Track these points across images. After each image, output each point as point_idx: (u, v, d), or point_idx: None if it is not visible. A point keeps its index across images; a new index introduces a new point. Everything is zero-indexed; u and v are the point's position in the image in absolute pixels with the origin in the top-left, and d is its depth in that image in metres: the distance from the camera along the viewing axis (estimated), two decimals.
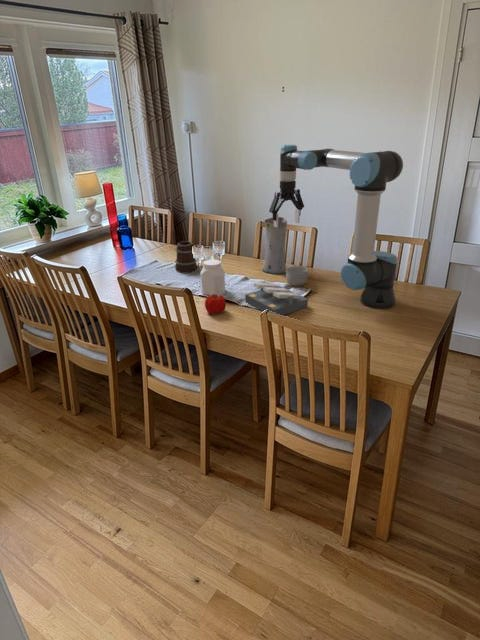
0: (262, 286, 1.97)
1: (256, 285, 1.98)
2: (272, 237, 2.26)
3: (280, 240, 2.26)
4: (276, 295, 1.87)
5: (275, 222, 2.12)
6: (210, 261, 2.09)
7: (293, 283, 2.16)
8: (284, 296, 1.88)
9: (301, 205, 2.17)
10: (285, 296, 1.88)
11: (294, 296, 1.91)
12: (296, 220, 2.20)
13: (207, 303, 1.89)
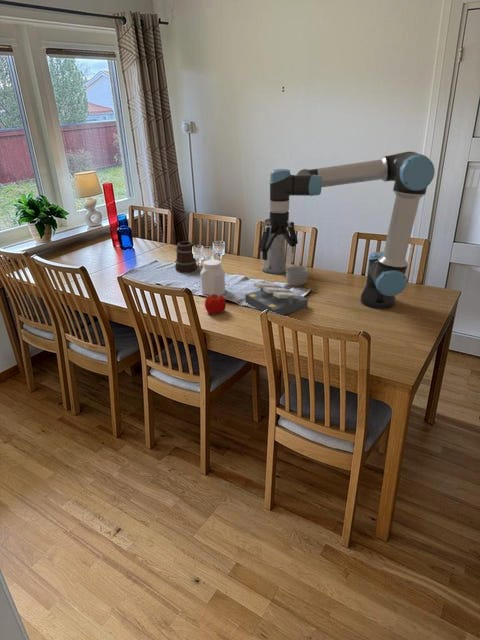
0: (262, 286, 1.97)
1: (256, 285, 1.98)
2: None
3: (280, 240, 2.26)
4: (276, 295, 1.87)
5: (266, 262, 1.77)
6: (210, 261, 2.09)
7: (293, 283, 2.16)
8: (284, 296, 1.88)
9: (294, 241, 1.81)
10: (285, 296, 1.88)
11: (294, 296, 1.91)
12: (288, 258, 1.84)
13: (207, 303, 1.89)
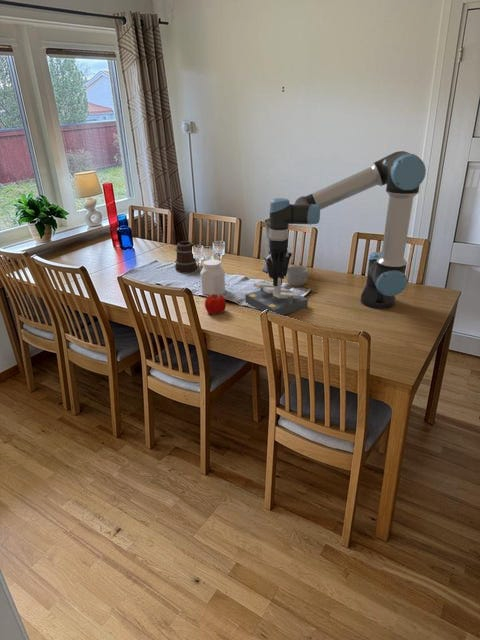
0: (262, 286, 1.97)
1: (256, 285, 1.98)
2: None
3: None
4: (276, 295, 1.87)
5: (276, 288, 1.86)
6: (210, 261, 2.09)
7: (293, 283, 2.16)
8: (284, 296, 1.88)
9: (283, 273, 1.84)
10: (285, 296, 1.88)
11: (294, 296, 1.91)
12: None
13: (207, 303, 1.89)
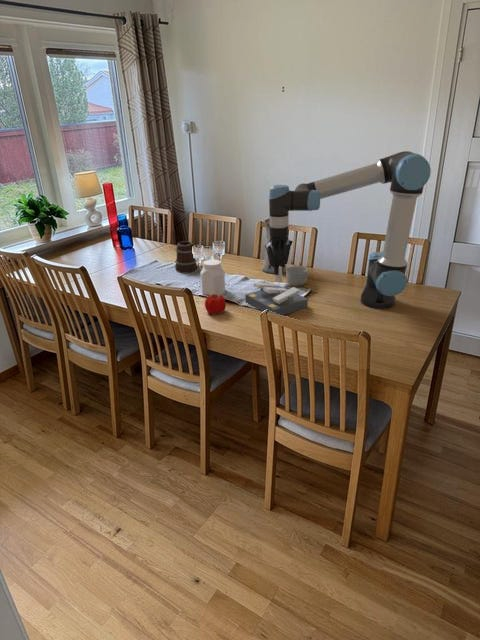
0: (262, 286, 1.97)
1: (256, 285, 1.98)
2: None
3: None
4: (276, 301, 1.88)
5: (277, 277, 1.83)
6: (210, 261, 2.09)
7: (293, 283, 2.16)
8: (284, 299, 1.88)
9: (284, 261, 1.82)
10: (285, 298, 1.88)
11: (294, 293, 1.91)
12: None
13: (207, 303, 1.89)
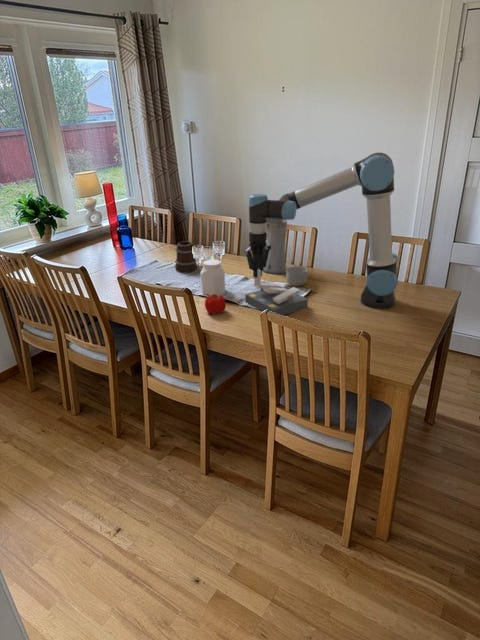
0: (262, 286, 1.97)
1: (256, 285, 1.98)
2: (272, 237, 2.26)
3: (280, 240, 2.26)
4: (276, 301, 1.88)
5: (256, 279, 1.96)
6: (210, 261, 2.09)
7: (293, 283, 2.16)
8: (284, 299, 1.88)
9: (262, 265, 1.94)
10: (285, 298, 1.88)
11: (294, 293, 1.91)
12: None
13: (207, 303, 1.89)
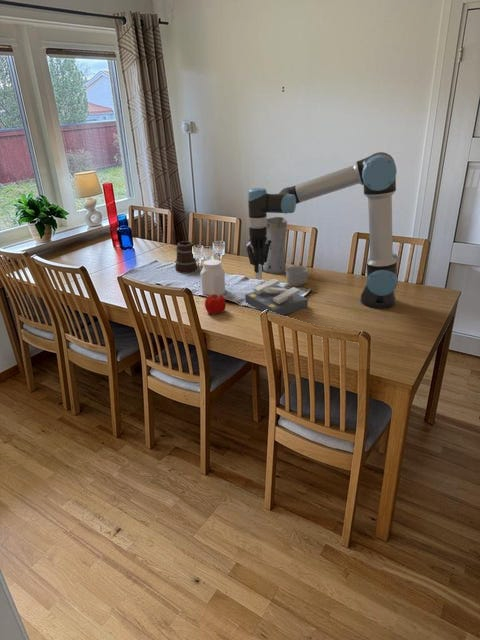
0: (262, 290, 1.98)
1: (256, 290, 1.99)
2: (272, 237, 2.26)
3: (280, 240, 2.26)
4: (276, 301, 1.88)
5: (257, 274, 1.95)
6: (210, 261, 2.09)
7: (293, 283, 2.16)
8: (284, 299, 1.88)
9: (263, 260, 1.93)
10: (285, 298, 1.88)
11: (294, 293, 1.91)
12: None
13: (207, 303, 1.89)
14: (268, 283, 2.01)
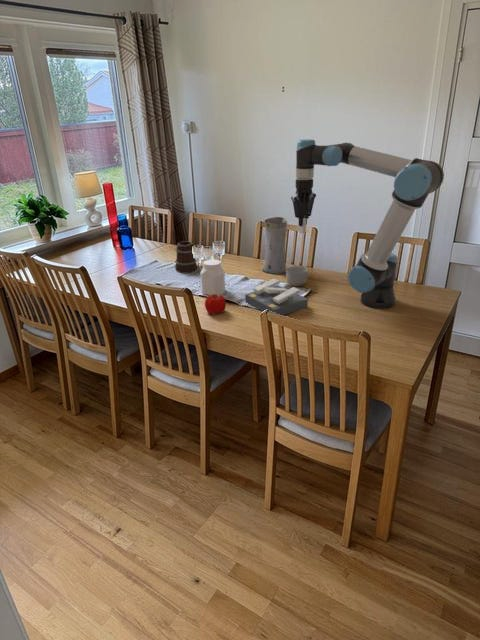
0: (262, 290, 1.98)
1: (256, 291, 1.99)
2: (272, 237, 2.26)
3: (280, 240, 2.26)
4: (276, 301, 1.88)
5: (301, 228, 1.97)
6: (210, 261, 2.09)
7: (293, 283, 2.16)
8: (284, 299, 1.88)
9: (308, 213, 1.95)
10: (285, 298, 1.88)
11: (294, 293, 1.91)
12: None
13: (207, 303, 1.89)
14: (268, 283, 2.01)
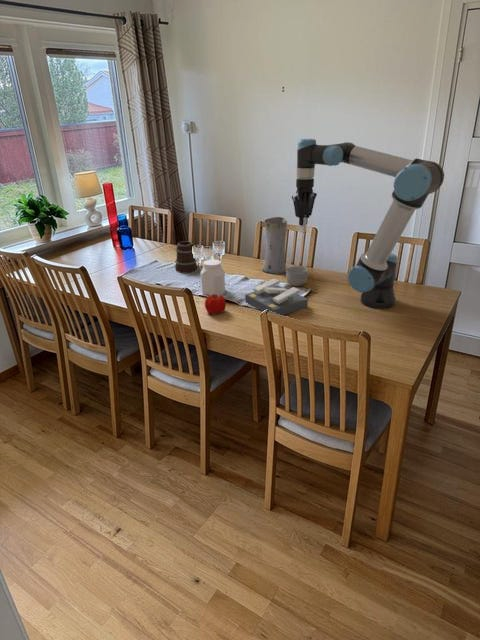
0: (262, 290, 1.98)
1: (256, 291, 1.99)
2: (272, 237, 2.26)
3: (280, 240, 2.26)
4: (276, 301, 1.88)
5: (302, 227, 1.97)
6: (210, 261, 2.09)
7: (293, 283, 2.16)
8: (284, 299, 1.88)
9: None
10: (285, 298, 1.88)
11: (294, 293, 1.91)
12: None
13: (207, 303, 1.89)
14: (268, 283, 2.01)
